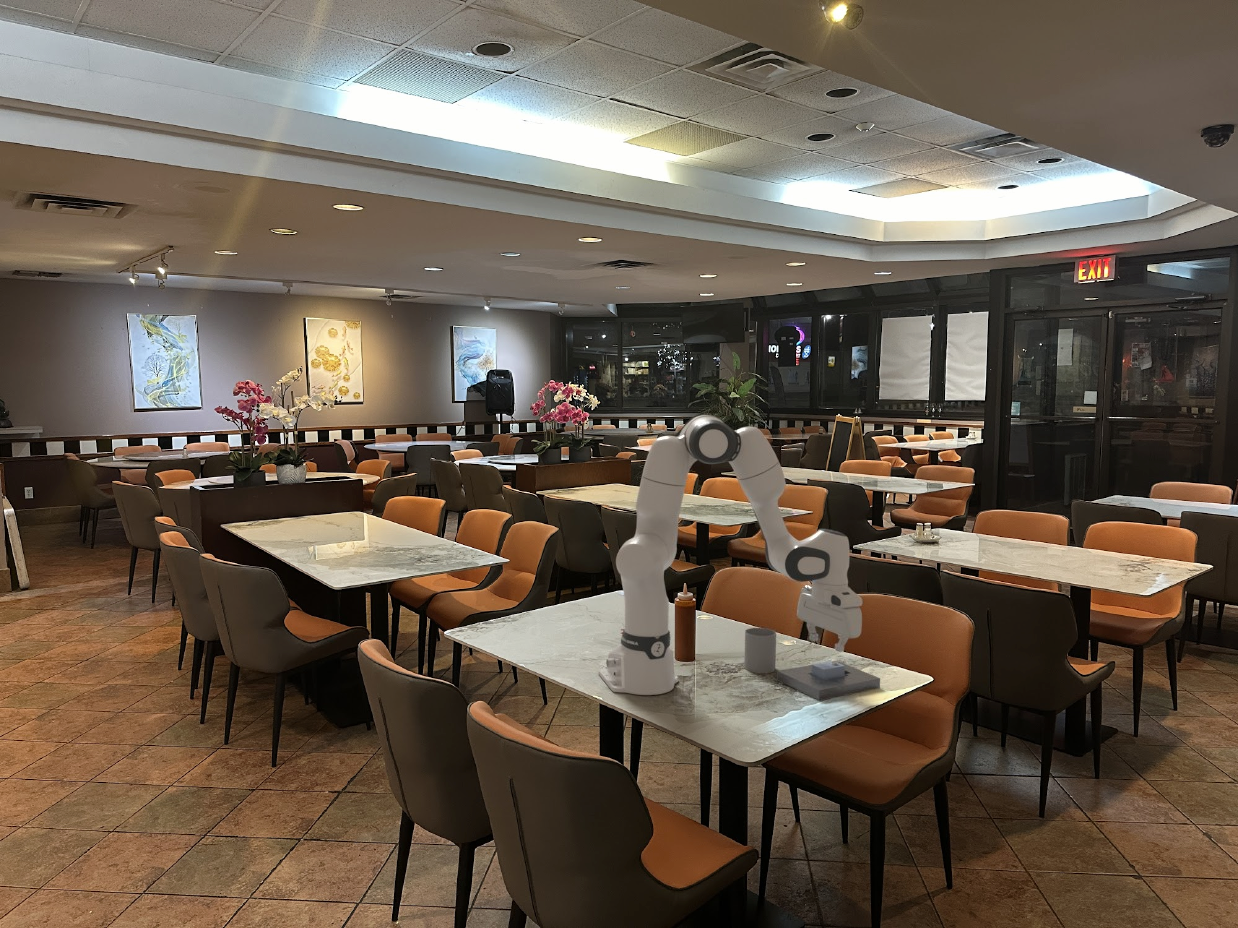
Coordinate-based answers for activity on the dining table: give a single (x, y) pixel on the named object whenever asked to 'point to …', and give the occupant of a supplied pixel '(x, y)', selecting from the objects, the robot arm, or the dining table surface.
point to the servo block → (828, 670)
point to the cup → (760, 650)
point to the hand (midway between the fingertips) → (826, 645)
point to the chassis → (828, 682)
